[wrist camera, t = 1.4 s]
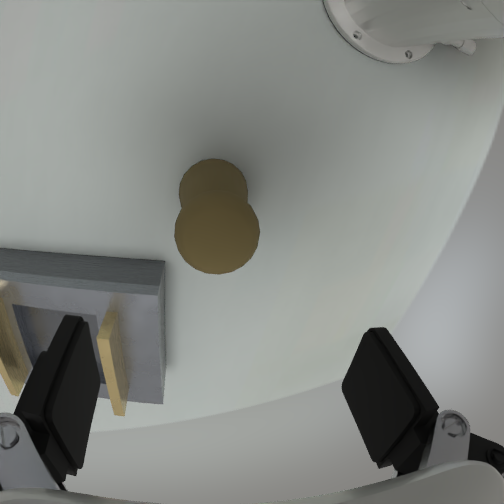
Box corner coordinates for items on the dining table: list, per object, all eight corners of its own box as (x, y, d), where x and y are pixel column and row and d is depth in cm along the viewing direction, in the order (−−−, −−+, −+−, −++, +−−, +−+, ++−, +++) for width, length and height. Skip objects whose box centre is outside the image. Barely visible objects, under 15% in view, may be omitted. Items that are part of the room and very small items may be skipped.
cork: (247, 223, 30) (269, 286, 20) (181, 226, 29) (170, 292, 19) (247, 157, 27) (272, 190, 17) (176, 160, 26) (160, 195, 17)
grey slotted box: (164, 260, 30) (152, 322, 22) (166, 365, 36) (161, 430, 28) (-7, 247, 27) (-53, 293, 18) (20, 346, 33) (-7, 399, 24)
